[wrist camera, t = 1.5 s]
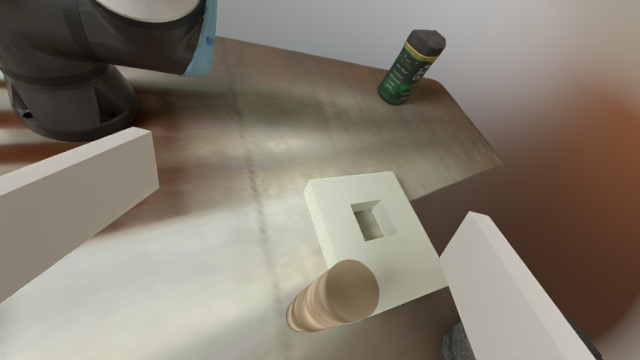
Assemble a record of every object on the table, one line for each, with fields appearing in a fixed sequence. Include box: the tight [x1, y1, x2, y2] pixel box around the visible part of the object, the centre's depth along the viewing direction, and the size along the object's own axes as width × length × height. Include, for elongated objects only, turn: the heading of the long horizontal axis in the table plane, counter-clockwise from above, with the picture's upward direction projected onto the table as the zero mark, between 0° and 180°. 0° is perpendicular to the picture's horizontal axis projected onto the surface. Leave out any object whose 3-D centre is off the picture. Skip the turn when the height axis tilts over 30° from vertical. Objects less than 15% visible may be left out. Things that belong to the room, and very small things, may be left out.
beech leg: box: [286, 259, 379, 332], centre depth 27 cm, size 5×5×18 cm
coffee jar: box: [378, 30, 446, 104], centre depth 66 cm, size 10×8×19 cm
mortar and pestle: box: [442, 321, 476, 360], centre depth 33 cm, size 11×9×12 cm
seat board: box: [304, 171, 449, 324], centre depth 43 cm, size 22×18×4 cm
